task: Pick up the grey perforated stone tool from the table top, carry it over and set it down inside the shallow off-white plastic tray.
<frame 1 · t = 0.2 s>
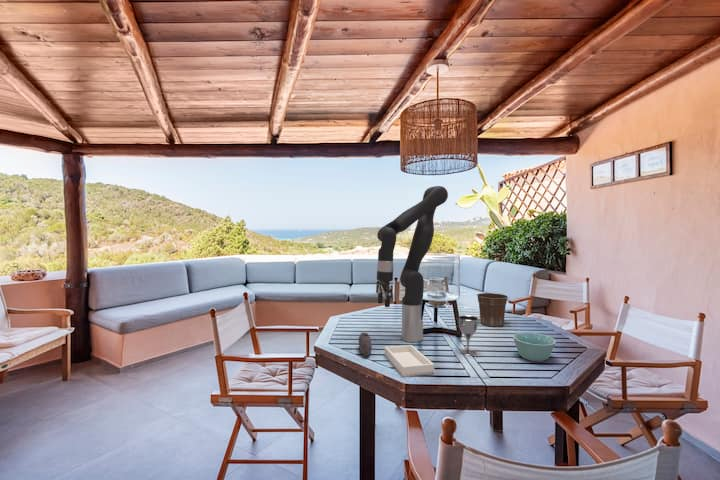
hand: (383, 305, 163), 18 cm above the table, tool pointing down, fingers open, 8 cm apart
wine glass: (467, 352, 150), on the table
tray: (407, 363, 137), on the table
bowl: (533, 358, 144), on the table
perforated stone tool: (365, 353, 150), on the table
plant pot: (491, 324, 195), on the table
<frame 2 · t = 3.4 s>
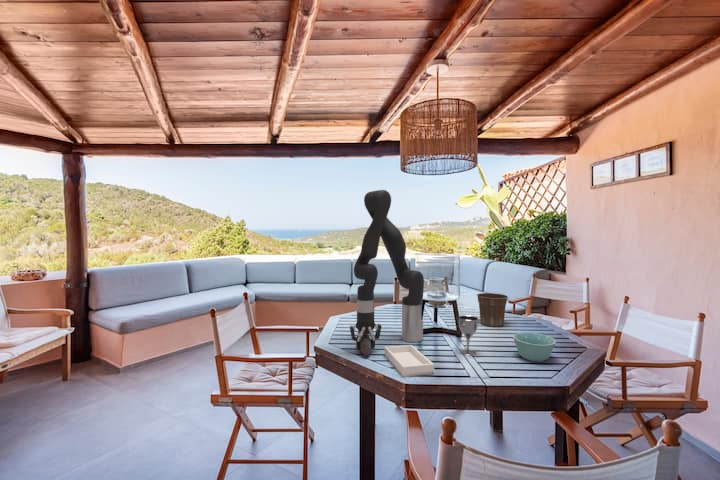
hand: (365, 349, 150), 2 cm above the table, tool pointing down, fingers closed on perforated stone tool, 5 cm apart
perforated stone tool: (365, 353, 150), on the table, touching gripper
everything else where it was.
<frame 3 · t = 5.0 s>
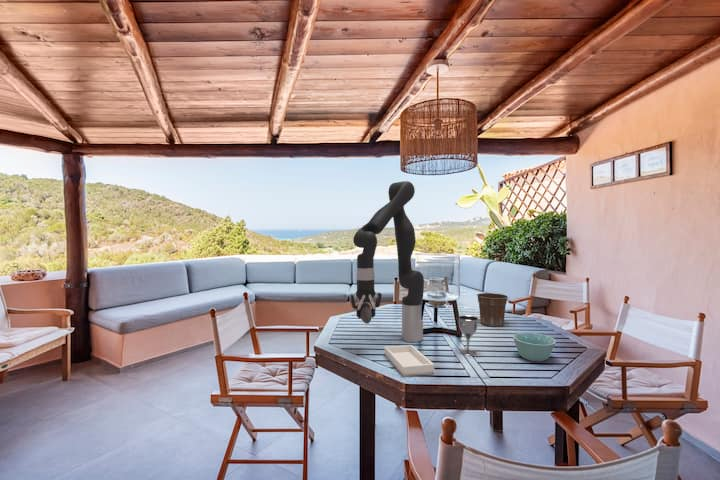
hand: (365, 317, 149), 15 cm above the table, tool pointing down, fingers closed on perforated stone tool, 5 cm apart
perforated stone tool: (365, 321, 149), point 13 cm above the table, touching gripper
everything else where it was.
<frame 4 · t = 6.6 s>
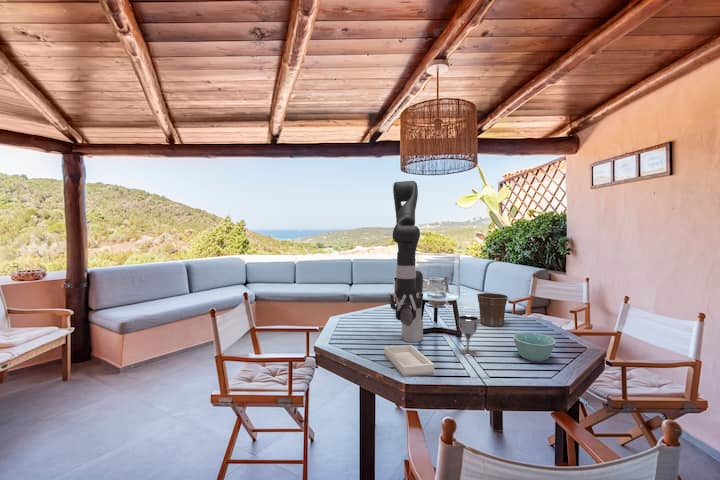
hand: (405, 319, 137), 18 cm above the table, tool pointing down, fingers closed on perforated stone tool, 5 cm apart
perforated stone tool: (405, 323, 137), point 16 cm above the table, touching gripper
everything else where it was.
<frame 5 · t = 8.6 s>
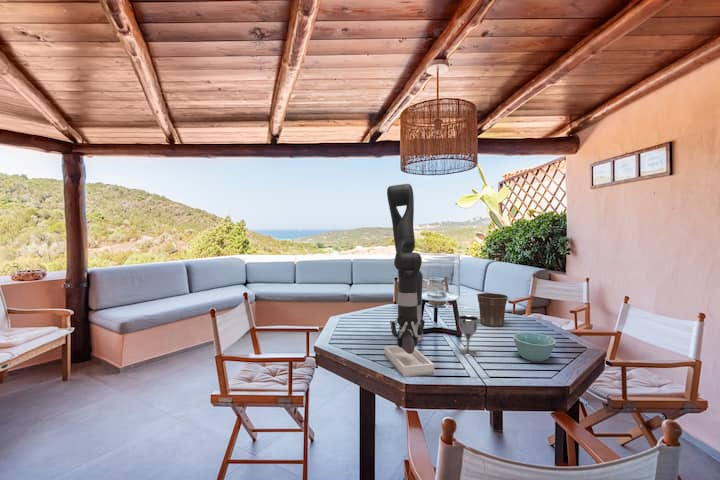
hand: (407, 346, 137), 7 cm above the table, tool pointing down, fingers closed on perforated stone tool, 5 cm apart
perforated stone tool: (406, 350, 137), point 5 cm above the table, touching gripper
everything else where it was.
when the fingers open (4 cm above the table, at t = 10.1 s): perforated stone tool drops 2 cm, resting on tray.
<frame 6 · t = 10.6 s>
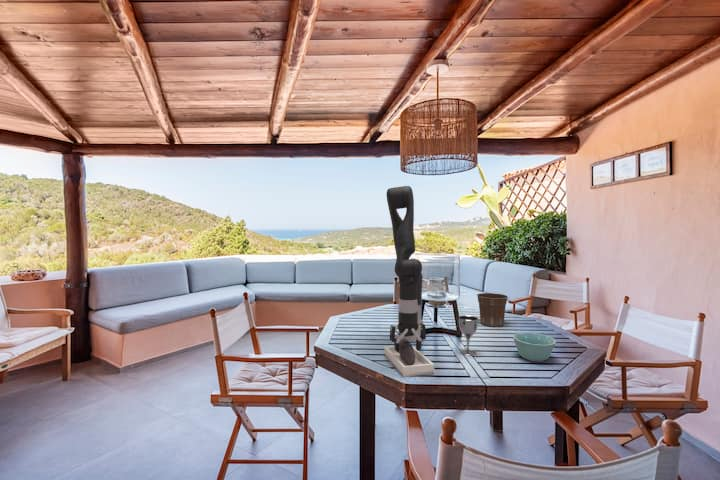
hand: (407, 351, 137), 5 cm above the table, tool pointing down, fingers open, 8 cm apart
perforated stone tool: (407, 362, 137), point 1 cm above the table, touching tray
everything else where it was.
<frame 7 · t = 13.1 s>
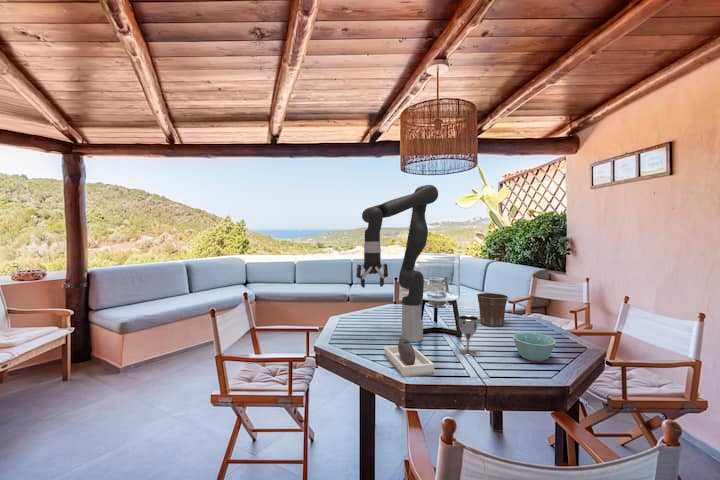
hand: (372, 286, 160), 27 cm above the table, tool pointing down, fingers open, 8 cm apart
nothing on the table moved.
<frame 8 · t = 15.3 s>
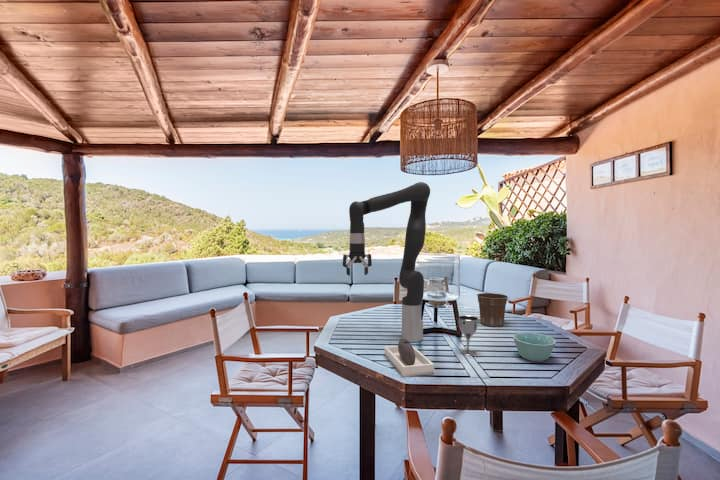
hand: (357, 275, 172), 30 cm above the table, tool pointing down, fingers open, 8 cm apart
nothing on the table moved.
at the end: perforated stone tool inside the target area on the tray (0.2 cm from its centre), point 0.8 cm above the tray's base; perforated stone tool touching tray; the gripper is holding nothing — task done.
